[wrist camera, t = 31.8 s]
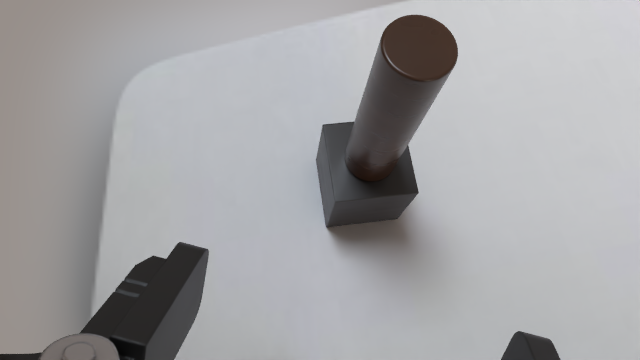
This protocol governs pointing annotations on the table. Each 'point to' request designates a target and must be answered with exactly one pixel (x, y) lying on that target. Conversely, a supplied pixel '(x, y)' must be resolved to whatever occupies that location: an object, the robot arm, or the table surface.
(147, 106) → the table surface
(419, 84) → the cylinder on square base
